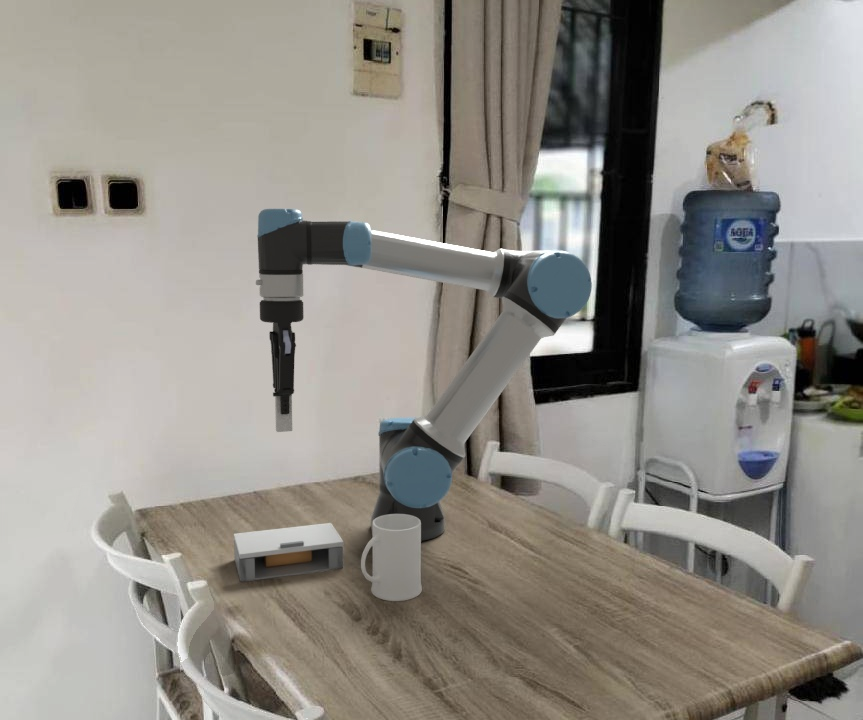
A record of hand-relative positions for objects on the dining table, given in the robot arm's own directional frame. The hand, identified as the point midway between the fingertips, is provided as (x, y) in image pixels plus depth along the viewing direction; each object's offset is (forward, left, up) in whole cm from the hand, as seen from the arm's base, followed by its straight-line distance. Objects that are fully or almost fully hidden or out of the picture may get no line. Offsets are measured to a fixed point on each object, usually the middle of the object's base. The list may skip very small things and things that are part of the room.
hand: (284, 430), depth 137 cm
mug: (-14, +19, -25) cm, 34 cm away
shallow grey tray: (0, +2, -24) cm, 24 cm away
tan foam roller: (0, +2, -22) cm, 22 cm away
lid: (0, +2, -20) cm, 20 cm away
